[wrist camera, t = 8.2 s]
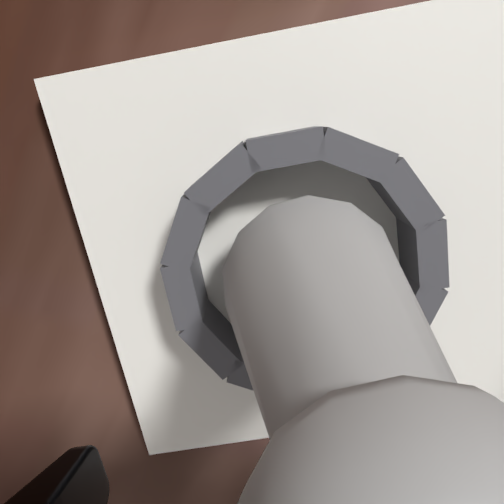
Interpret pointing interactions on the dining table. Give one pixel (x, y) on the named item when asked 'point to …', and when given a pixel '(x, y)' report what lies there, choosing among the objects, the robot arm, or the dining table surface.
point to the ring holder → (286, 188)
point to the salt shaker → (351, 369)
